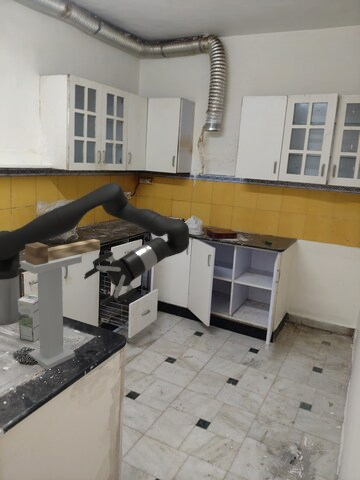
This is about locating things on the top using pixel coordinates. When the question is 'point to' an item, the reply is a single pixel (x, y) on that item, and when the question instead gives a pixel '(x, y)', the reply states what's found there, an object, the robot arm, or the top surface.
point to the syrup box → (28, 317)
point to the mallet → (58, 251)
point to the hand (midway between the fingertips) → (93, 290)
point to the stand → (51, 311)
